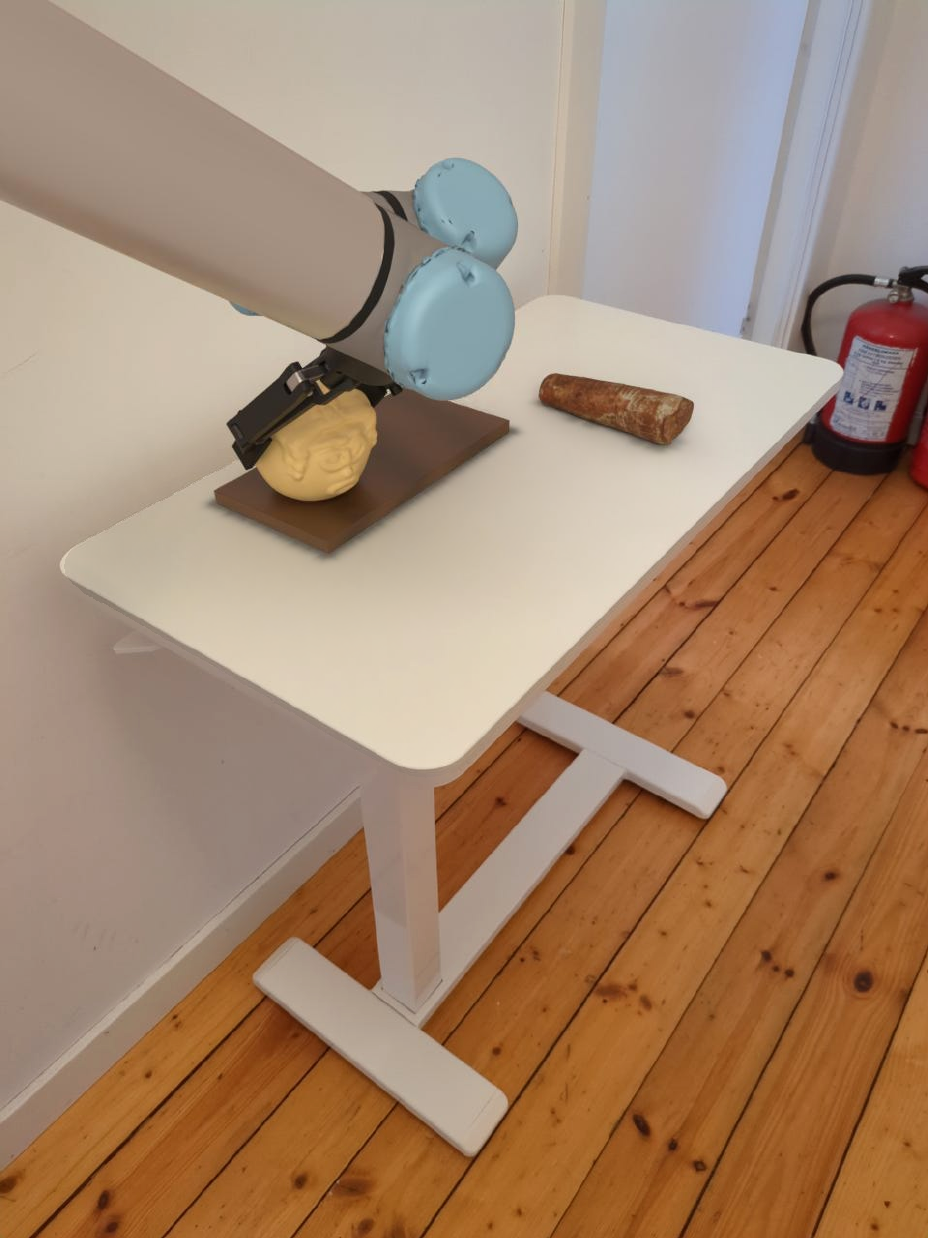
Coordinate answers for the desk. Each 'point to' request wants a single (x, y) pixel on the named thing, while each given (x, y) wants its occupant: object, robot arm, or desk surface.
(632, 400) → the bread
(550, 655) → the desk surface
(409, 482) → the cutting board
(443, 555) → the desk surface
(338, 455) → the sculpture
